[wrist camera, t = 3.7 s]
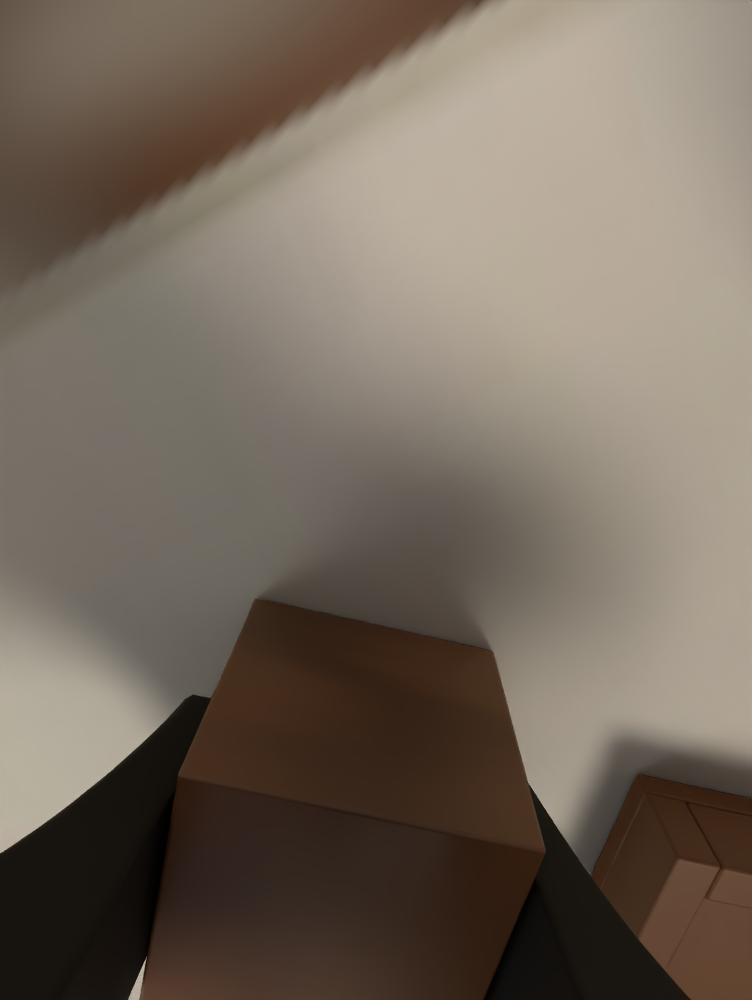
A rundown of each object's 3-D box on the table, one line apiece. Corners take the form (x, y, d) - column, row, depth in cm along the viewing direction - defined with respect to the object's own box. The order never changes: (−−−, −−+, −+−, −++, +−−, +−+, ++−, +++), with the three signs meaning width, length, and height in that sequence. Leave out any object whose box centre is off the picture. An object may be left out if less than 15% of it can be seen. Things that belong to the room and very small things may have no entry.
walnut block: (217, 789, 13) (133, 1030, 9) (254, 596, 12) (176, 774, 8) (431, 834, 14) (448, 1090, 9) (494, 650, 12) (548, 852, 8)
